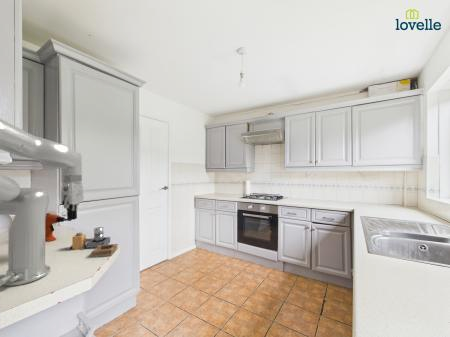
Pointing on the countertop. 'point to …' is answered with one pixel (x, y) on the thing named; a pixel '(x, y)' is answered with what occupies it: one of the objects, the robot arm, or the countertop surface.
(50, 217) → the toy drill
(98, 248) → the wooden square tray
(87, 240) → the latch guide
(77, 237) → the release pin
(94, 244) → the socket
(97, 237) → the silver metal cylinder
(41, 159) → the robot arm
